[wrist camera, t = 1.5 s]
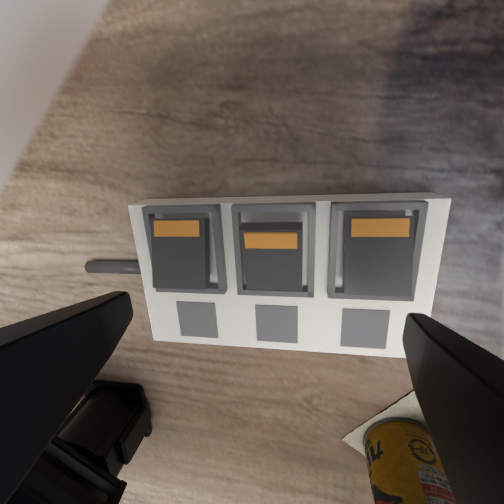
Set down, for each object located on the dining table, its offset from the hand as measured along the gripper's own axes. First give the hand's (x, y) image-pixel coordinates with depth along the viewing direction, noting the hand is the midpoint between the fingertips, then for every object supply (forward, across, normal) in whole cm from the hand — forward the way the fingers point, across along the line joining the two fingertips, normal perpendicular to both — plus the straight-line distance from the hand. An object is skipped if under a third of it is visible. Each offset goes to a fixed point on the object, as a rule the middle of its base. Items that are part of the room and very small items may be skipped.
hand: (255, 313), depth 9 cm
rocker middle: (+9, +1, +2) cm, 9 cm away
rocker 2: (+9, -5, +1) cm, 11 cm away
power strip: (+12, +4, +4) cm, 13 cm away
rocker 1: (+9, +7, +2) cm, 11 cm away
